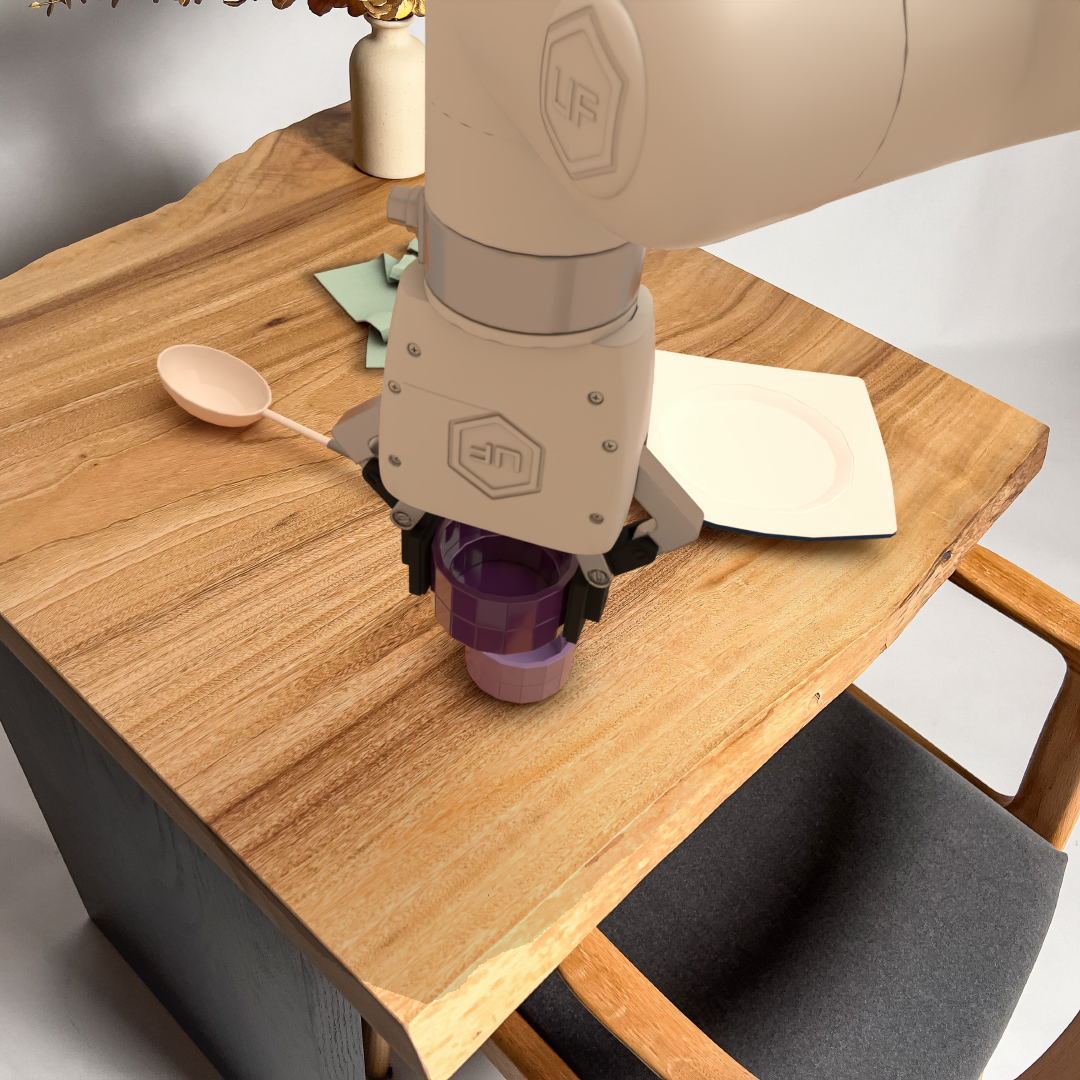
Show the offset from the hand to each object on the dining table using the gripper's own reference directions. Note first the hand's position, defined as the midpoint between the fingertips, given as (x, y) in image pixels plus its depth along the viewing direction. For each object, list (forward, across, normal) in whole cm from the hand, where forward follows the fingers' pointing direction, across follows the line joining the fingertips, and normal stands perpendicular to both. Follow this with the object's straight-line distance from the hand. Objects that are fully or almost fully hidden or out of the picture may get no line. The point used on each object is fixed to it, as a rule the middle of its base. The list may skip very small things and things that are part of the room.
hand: (502, 595), depth 46 cm
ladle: (+15, -20, +20) cm, 32 cm away
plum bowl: (+1, 0, 0) cm, 1 cm away
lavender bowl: (+15, -1, +8) cm, 16 cm away
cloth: (+14, -21, +42) cm, 49 cm away
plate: (+15, +10, +33) cm, 38 cm away
